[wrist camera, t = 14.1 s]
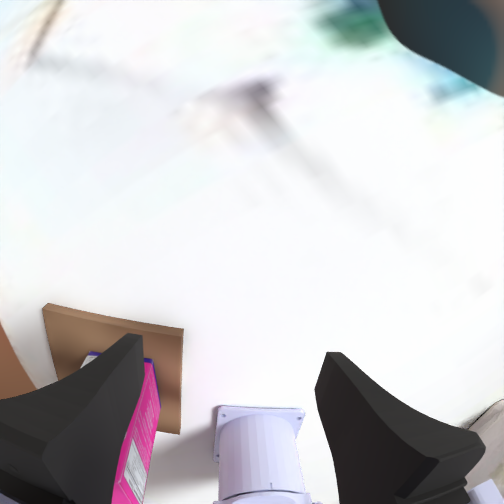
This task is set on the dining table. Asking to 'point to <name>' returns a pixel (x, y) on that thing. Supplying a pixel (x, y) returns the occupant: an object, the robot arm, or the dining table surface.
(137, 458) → the supplement box
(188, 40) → the dining table surface
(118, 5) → the dining table surface
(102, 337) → the cardboard square
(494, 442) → the ceramic pitcher
